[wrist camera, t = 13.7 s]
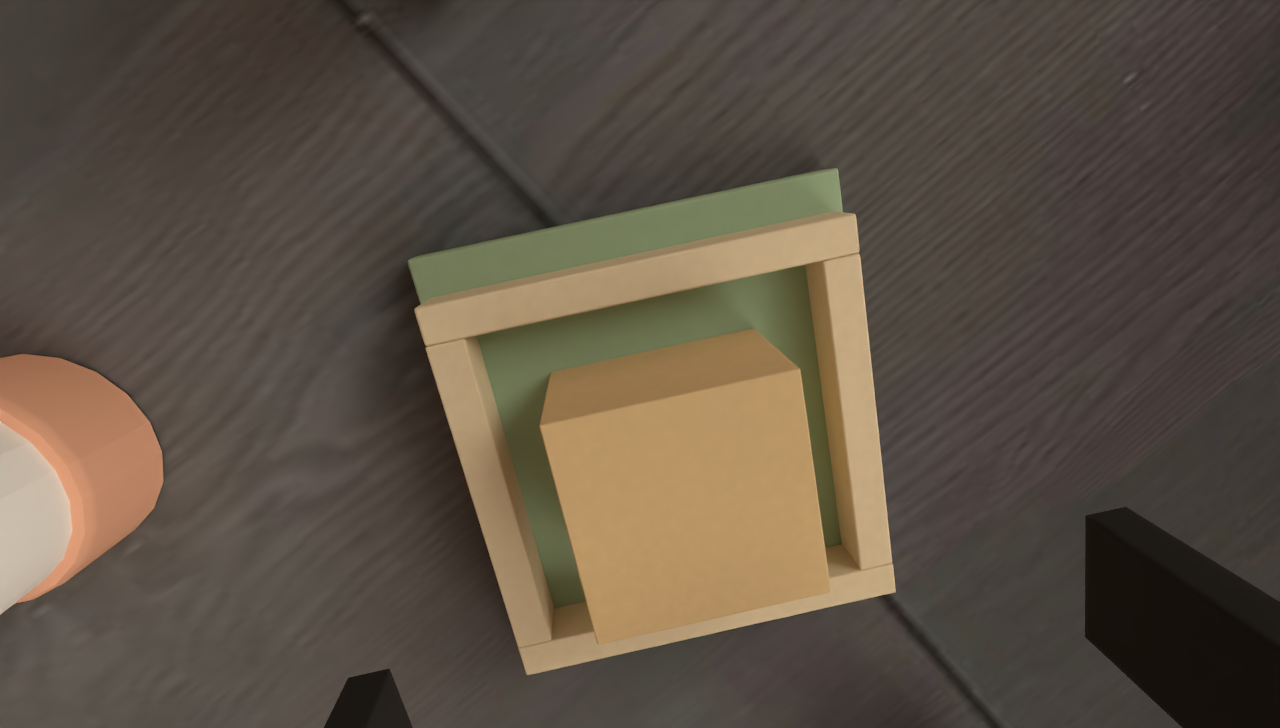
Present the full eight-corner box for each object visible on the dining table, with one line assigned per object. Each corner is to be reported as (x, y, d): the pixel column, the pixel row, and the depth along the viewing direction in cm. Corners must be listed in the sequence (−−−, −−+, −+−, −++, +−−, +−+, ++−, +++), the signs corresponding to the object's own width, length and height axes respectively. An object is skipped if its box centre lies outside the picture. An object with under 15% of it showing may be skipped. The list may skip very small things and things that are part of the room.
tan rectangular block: (550, 371, 21) (538, 426, 17) (753, 327, 21) (800, 368, 17) (595, 551, 23) (597, 645, 18) (782, 509, 23) (831, 593, 19)
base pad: (415, 256, 21) (388, 267, 18) (825, 168, 21) (862, 165, 19) (534, 648, 26) (527, 707, 23) (872, 572, 26) (907, 621, 23)
